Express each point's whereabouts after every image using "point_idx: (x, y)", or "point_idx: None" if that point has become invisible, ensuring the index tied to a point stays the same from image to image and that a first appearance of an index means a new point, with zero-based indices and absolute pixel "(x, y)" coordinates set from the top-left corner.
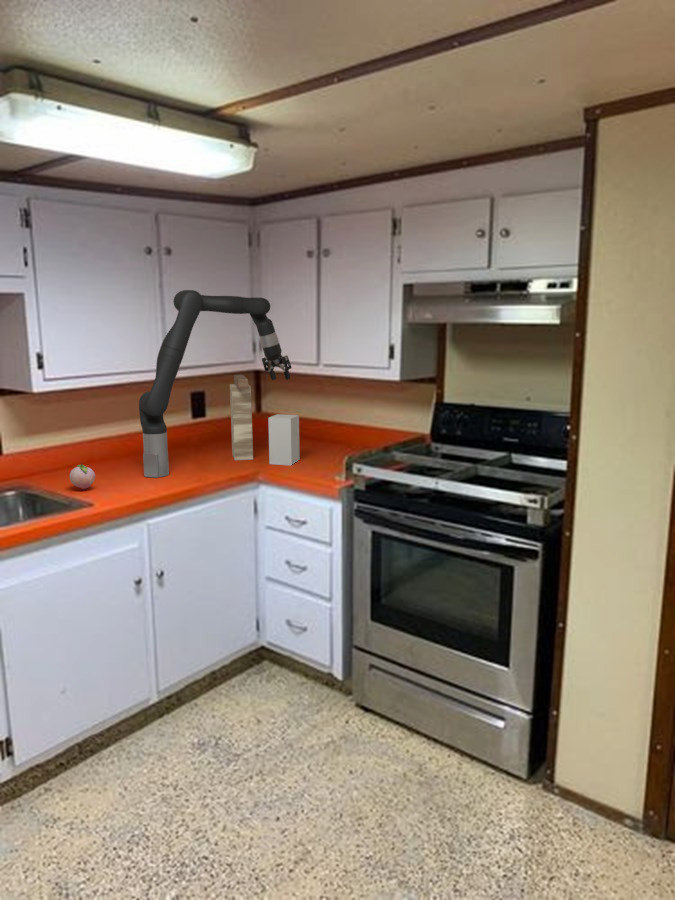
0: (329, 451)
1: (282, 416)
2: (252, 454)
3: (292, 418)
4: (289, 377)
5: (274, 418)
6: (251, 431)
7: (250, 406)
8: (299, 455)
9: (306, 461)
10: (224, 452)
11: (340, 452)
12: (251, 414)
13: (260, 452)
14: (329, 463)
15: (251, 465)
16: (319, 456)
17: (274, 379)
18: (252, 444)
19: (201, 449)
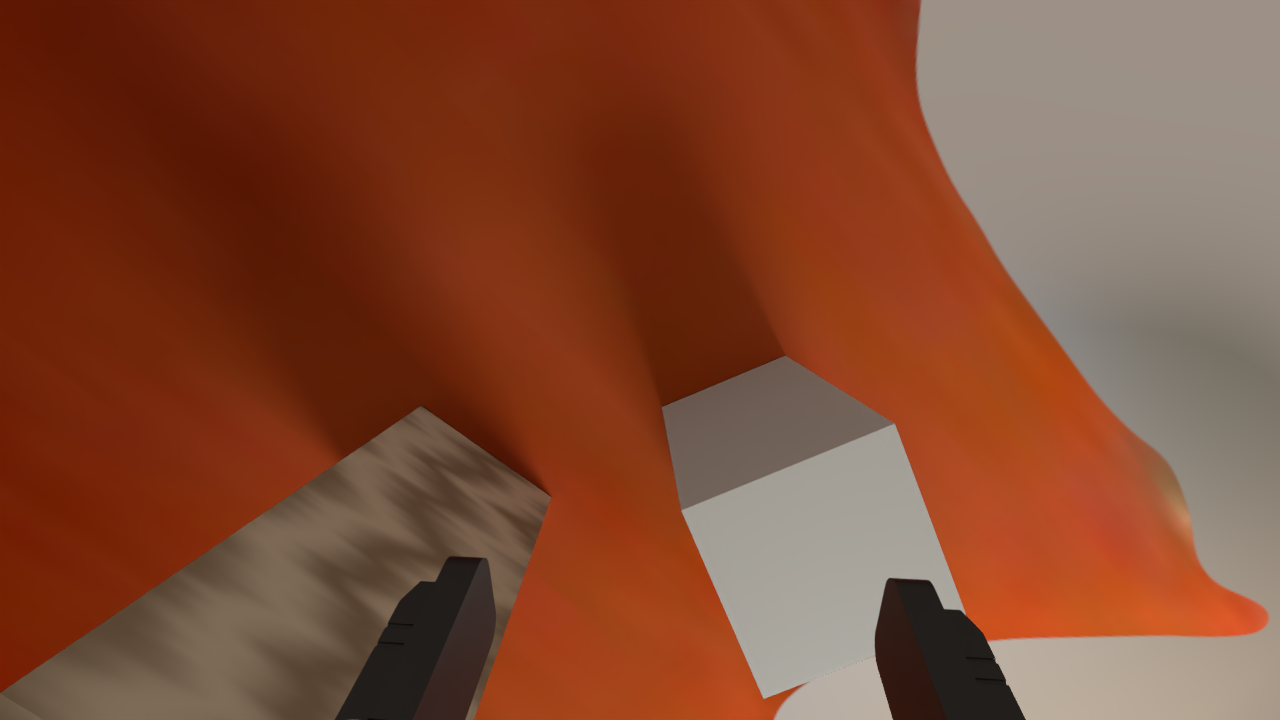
0: (762, 25)
1: (820, 576)
2: (545, 509)
3: (949, 576)
4: (958, 633)
5: (818, 674)
6: (520, 581)
7: (470, 718)
8: (793, 360)
9: (831, 346)
10: (271, 471)
11: (841, 3)
12: (493, 658)
13: (436, 336)
14: (973, 302)
15: (655, 599)
16: (807, 191)
17: (491, 602)
18: (537, 534)
19: (93, 499)
